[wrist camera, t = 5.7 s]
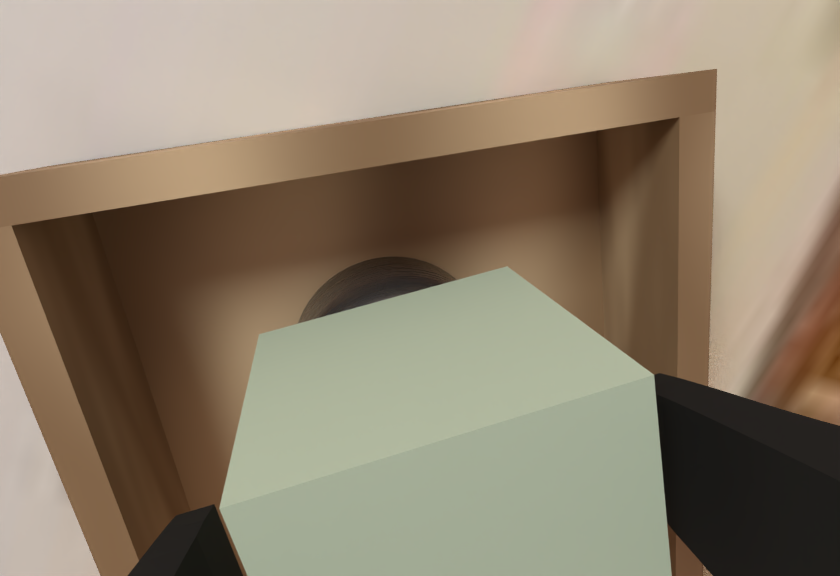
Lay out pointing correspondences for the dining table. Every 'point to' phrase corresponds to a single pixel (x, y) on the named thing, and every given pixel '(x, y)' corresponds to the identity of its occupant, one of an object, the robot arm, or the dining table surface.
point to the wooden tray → (333, 267)
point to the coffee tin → (373, 284)
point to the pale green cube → (448, 443)
